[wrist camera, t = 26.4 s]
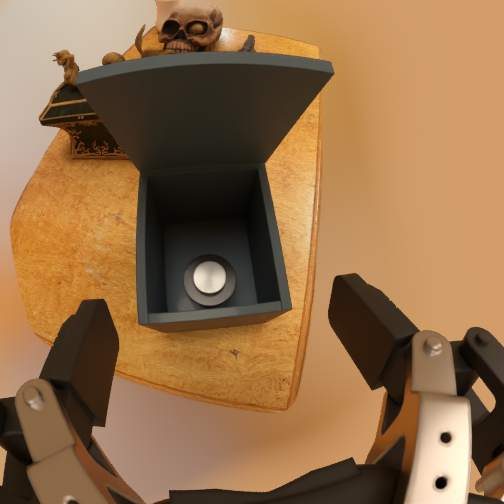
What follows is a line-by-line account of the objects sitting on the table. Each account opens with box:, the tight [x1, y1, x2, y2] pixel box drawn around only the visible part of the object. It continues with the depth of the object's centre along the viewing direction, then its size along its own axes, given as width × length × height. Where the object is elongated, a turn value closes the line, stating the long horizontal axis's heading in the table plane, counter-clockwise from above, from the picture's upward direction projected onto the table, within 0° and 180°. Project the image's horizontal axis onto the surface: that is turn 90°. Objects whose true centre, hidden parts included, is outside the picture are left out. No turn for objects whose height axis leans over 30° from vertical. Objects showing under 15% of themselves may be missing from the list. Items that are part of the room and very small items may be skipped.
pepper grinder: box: [183, 254, 237, 310], centre depth 26 cm, size 5×5×8 cm
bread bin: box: [136, 163, 292, 333], centre depth 26 cm, size 14×12×11 cm
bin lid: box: [76, 51, 334, 172], centre depth 16 cm, size 14×12×1 cm
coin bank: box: [158, 3, 223, 55], centre depth 43 cm, size 16×17×13 cm
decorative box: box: [39, 24, 172, 159], centre depth 27 cm, size 20×10×20 cm, turn 86°
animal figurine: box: [238, 35, 255, 52], centre depth 47 cm, size 12×4×5 cm, turn 170°
